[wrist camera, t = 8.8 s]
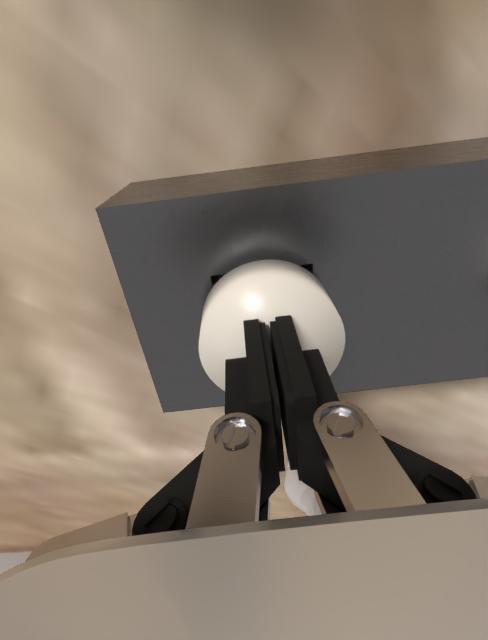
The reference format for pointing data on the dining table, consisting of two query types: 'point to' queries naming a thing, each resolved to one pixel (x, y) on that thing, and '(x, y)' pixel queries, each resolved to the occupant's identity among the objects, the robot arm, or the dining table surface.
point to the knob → (267, 313)
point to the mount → (317, 260)
